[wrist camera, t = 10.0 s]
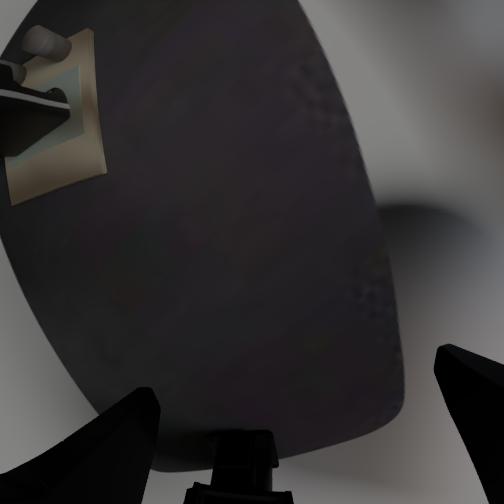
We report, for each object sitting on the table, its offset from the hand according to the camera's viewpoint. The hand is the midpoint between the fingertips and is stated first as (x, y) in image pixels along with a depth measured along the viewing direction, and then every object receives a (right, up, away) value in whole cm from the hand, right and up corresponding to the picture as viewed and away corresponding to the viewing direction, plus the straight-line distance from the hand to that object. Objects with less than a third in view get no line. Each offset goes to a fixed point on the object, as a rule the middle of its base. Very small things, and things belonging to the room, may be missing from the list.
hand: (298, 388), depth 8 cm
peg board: (-17, +15, +10) cm, 25 cm away
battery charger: (-18, +14, +9) cm, 25 cm away
